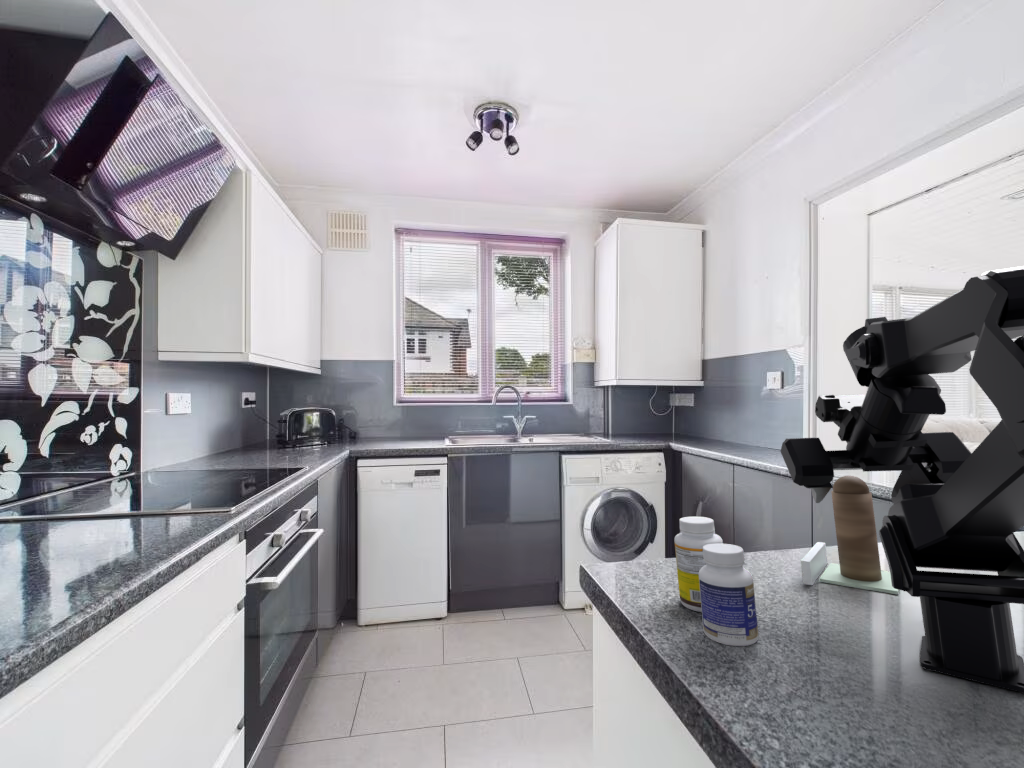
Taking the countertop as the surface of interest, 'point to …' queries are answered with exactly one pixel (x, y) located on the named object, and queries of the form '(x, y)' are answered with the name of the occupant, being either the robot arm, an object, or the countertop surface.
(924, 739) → the countertop surface
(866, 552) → the pepper mill
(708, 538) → the supplement bottle
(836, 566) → the coaster
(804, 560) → the rail
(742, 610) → the pill bottle
